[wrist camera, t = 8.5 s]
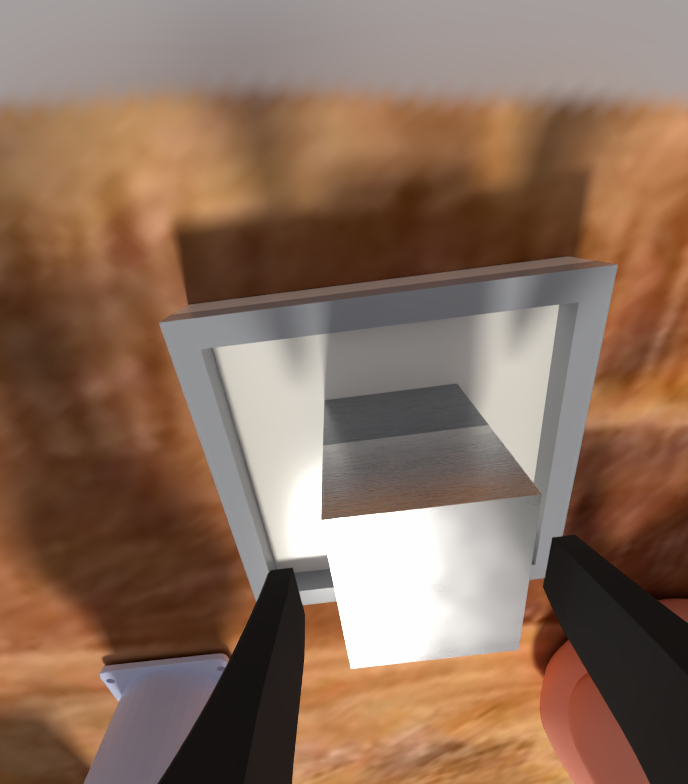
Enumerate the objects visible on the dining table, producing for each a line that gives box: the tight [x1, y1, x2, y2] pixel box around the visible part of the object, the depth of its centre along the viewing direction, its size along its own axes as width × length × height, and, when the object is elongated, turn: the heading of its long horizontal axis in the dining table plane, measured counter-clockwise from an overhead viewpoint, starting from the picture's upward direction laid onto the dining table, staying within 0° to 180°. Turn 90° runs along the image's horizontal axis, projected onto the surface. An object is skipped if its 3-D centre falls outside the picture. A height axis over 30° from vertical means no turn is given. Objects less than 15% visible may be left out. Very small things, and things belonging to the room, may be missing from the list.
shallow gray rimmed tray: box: [159, 256, 618, 605], centre depth 15 cm, size 14×14×2 cm
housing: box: [321, 384, 542, 669], centre depth 12 cm, size 6×5×6 cm
